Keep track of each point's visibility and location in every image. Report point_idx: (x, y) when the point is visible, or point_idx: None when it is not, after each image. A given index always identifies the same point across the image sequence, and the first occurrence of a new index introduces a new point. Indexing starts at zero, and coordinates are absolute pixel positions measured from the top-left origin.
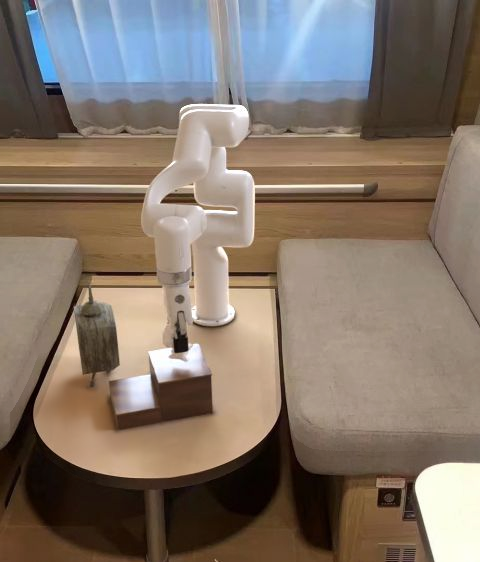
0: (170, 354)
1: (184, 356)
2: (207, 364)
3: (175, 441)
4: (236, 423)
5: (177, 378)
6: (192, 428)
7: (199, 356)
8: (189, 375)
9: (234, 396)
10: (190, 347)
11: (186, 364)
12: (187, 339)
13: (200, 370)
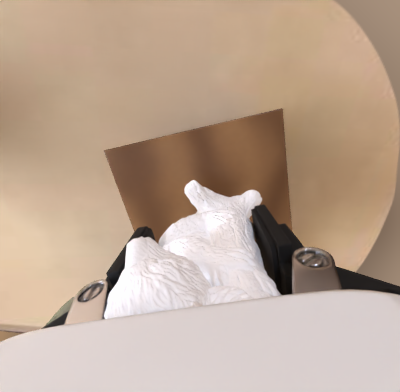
0: (166, 227)
1: (251, 207)
2: (225, 122)
3: (314, 184)
4: (289, 66)
5: (284, 211)
6: (286, 156)
7: (178, 148)
8: (276, 179)
9: (198, 66)
10: (202, 188)
11: (219, 187)
12: (284, 234)
13: (256, 146)
